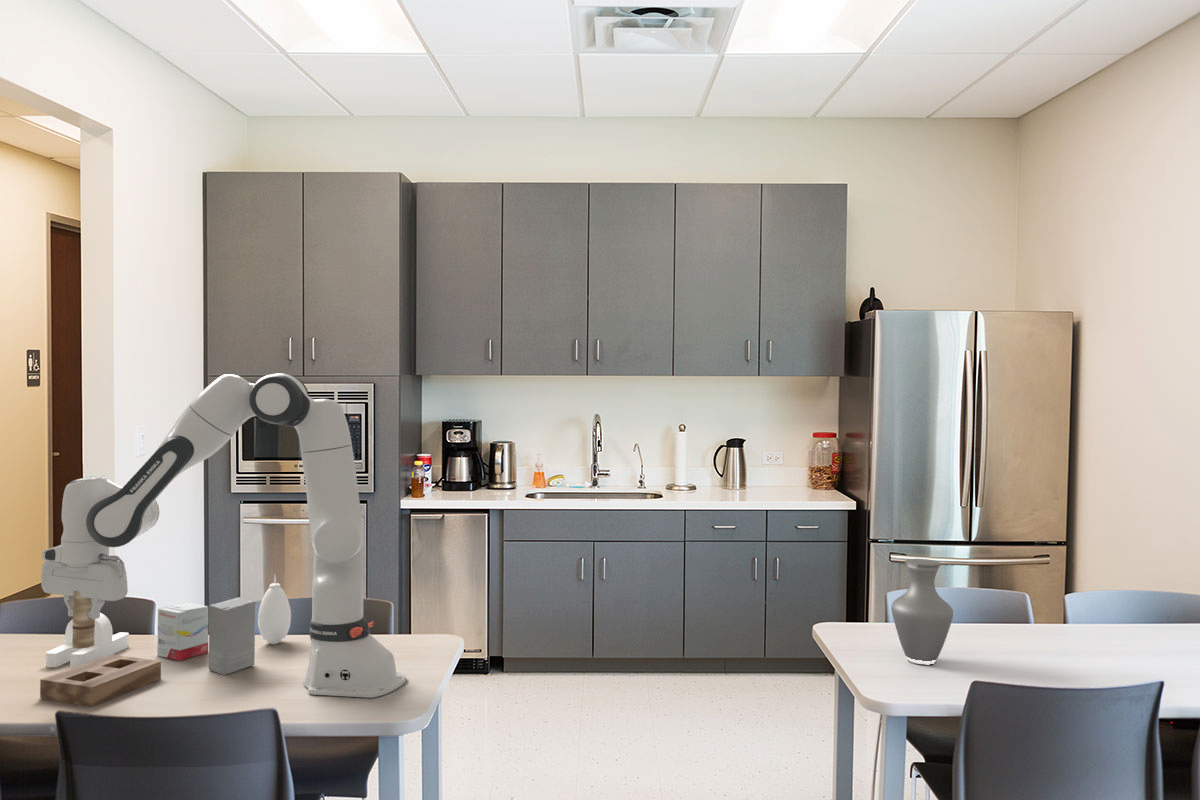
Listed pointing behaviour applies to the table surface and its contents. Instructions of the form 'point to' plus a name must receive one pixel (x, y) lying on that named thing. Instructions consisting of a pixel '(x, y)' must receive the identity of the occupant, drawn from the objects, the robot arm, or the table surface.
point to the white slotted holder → (102, 647)
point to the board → (100, 680)
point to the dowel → (82, 622)
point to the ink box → (182, 631)
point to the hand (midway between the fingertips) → (83, 617)
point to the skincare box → (231, 635)
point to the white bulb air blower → (274, 614)
